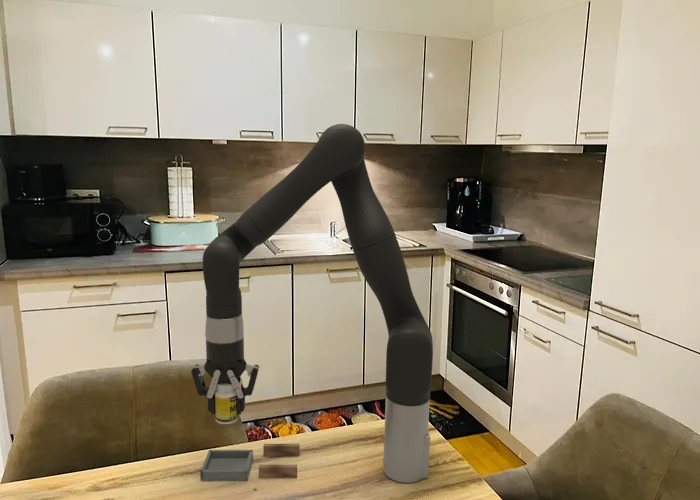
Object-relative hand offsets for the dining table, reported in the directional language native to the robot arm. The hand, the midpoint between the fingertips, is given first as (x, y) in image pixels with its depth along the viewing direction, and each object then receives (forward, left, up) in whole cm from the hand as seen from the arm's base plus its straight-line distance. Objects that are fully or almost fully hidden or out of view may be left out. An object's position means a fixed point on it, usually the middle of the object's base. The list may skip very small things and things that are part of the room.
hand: (226, 412), depth 109 cm
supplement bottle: (0, 0, -2) cm, 2 cm away
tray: (0, 0, -13) cm, 13 cm away
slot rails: (-11, -1, -13) cm, 17 cm away
